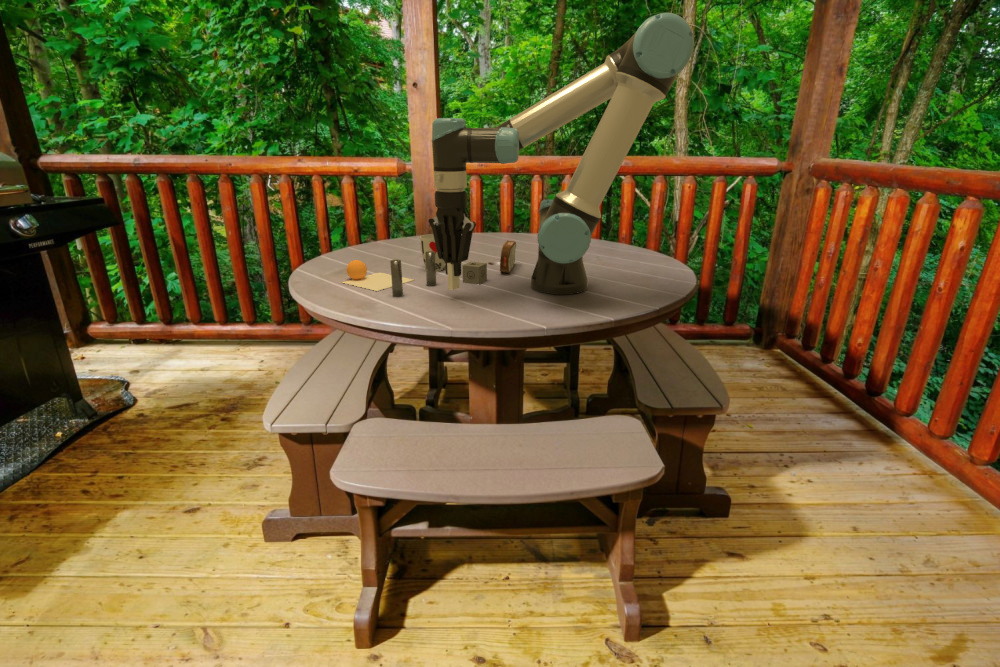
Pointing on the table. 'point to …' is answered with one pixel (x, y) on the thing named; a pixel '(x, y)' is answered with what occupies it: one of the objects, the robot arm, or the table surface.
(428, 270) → the right post
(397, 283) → the left post
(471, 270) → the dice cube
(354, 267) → the ball
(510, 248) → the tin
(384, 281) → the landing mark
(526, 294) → the table surface
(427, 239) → the cup
